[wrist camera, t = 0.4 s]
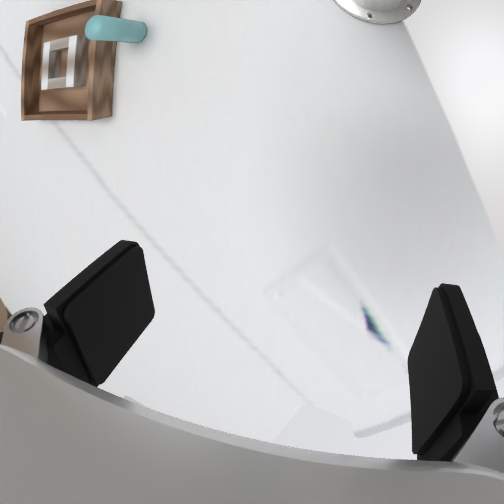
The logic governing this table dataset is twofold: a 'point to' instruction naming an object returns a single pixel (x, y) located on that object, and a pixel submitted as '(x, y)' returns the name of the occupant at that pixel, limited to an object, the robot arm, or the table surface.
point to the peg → (115, 29)
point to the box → (68, 65)
